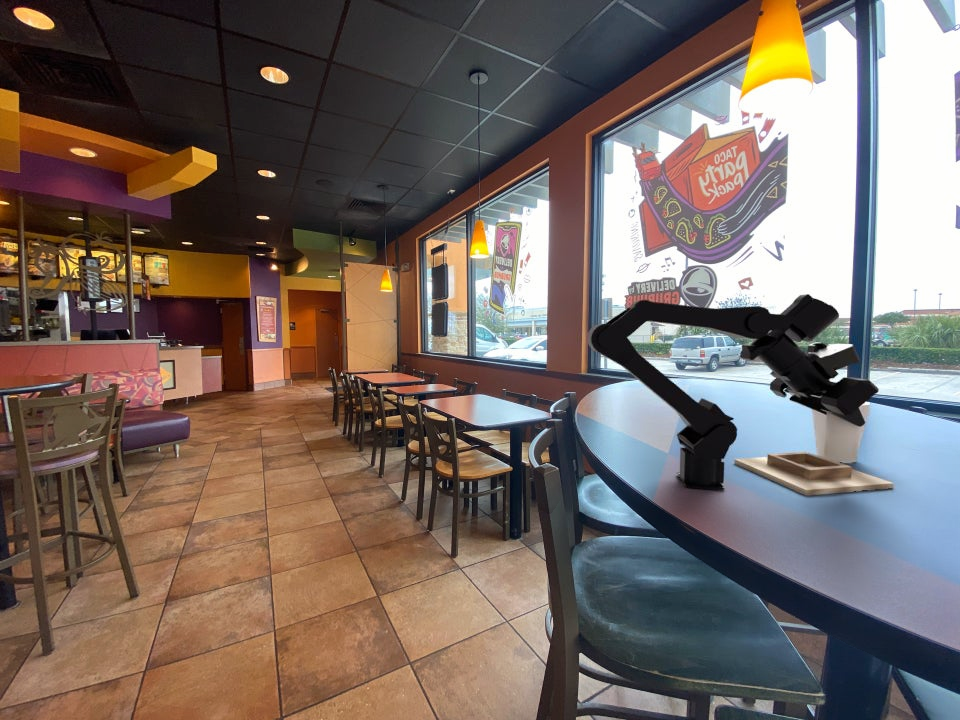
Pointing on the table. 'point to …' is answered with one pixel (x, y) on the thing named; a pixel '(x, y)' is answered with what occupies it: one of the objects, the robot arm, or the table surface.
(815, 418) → the foam cup
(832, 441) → the white bottle
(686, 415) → the robot arm
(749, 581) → the table surface
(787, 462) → the plate
